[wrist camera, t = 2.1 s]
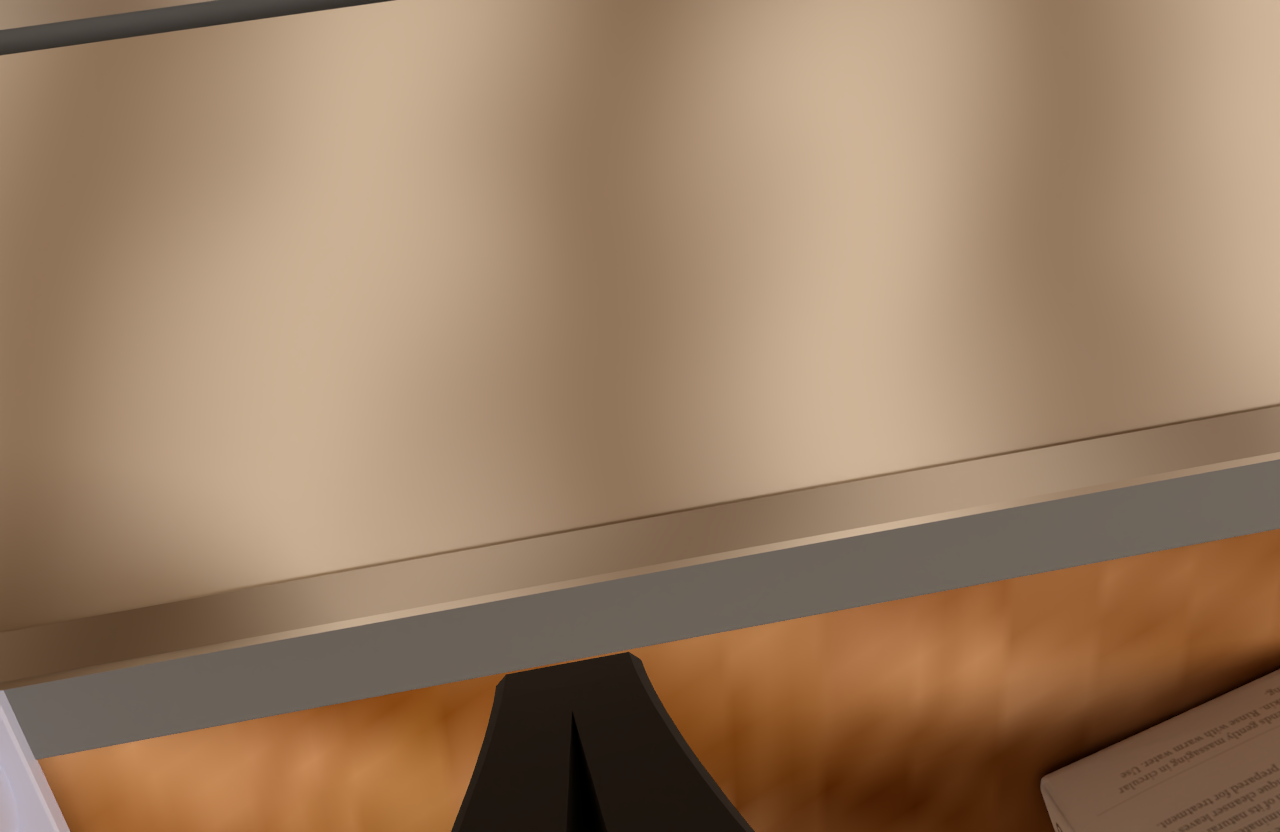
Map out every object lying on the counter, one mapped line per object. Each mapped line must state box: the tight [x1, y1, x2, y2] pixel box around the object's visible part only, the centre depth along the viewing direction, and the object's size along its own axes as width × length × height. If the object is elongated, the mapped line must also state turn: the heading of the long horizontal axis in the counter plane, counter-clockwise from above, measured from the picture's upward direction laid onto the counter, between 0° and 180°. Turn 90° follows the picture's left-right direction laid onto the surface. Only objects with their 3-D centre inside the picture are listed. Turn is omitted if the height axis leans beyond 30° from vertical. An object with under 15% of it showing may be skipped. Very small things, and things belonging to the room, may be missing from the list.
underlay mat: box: [0, 0, 1280, 760], centre depth 17 cm, size 26×22×1 cm
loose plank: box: [0, 0, 1280, 691], centre depth 15 cm, size 22×8×1 cm, turn 97°
